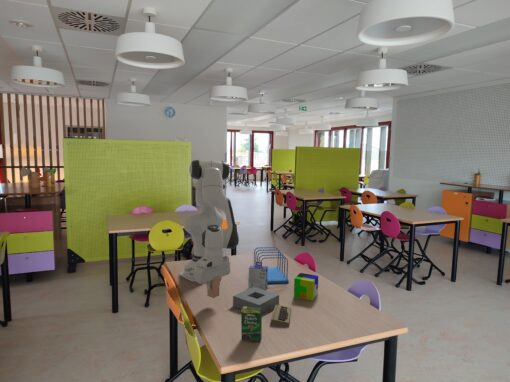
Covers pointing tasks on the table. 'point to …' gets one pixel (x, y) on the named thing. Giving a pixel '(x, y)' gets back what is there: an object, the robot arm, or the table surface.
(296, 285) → the puzzle toy
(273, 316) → the computer
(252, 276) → the ink cartridge box
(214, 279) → the block
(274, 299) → the holder
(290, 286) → the table surface
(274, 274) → the file sorter
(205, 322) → the table surface
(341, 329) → the table surface
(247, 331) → the coffee box
